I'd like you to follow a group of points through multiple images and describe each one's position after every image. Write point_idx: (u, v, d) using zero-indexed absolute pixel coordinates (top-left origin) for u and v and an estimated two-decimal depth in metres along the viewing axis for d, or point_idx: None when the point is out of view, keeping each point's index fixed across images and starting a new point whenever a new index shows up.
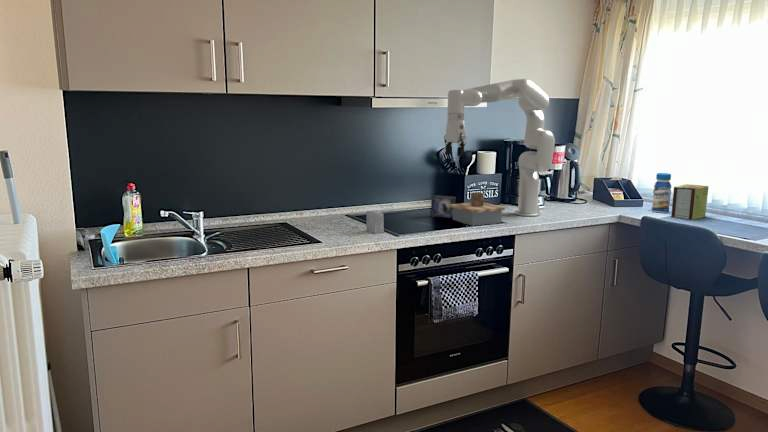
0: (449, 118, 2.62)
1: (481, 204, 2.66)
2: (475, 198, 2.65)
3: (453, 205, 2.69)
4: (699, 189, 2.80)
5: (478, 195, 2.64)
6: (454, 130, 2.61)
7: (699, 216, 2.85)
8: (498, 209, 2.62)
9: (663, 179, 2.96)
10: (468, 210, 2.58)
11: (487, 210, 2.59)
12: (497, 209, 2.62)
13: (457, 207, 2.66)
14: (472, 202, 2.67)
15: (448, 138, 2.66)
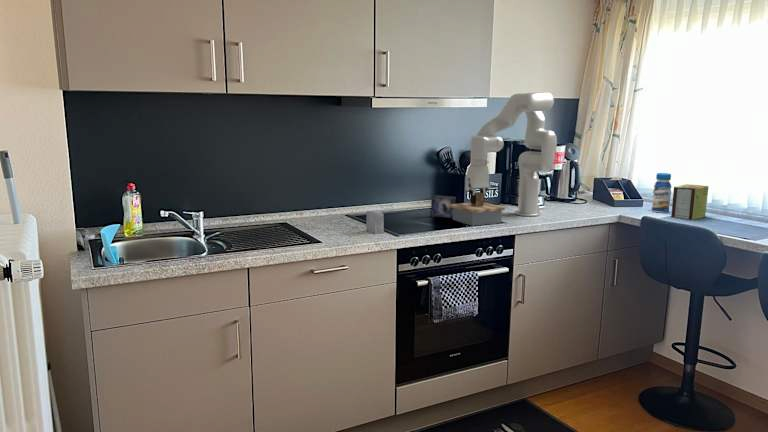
0: (484, 164, 2.61)
1: (481, 204, 2.66)
2: None
3: (453, 205, 2.69)
4: (699, 189, 2.80)
5: (478, 195, 2.64)
6: (486, 176, 2.64)
7: (699, 216, 2.85)
8: (498, 209, 2.62)
9: (663, 179, 2.96)
10: (468, 210, 2.58)
11: (487, 210, 2.59)
12: (497, 209, 2.62)
13: (457, 207, 2.66)
14: None
15: (476, 185, 2.63)
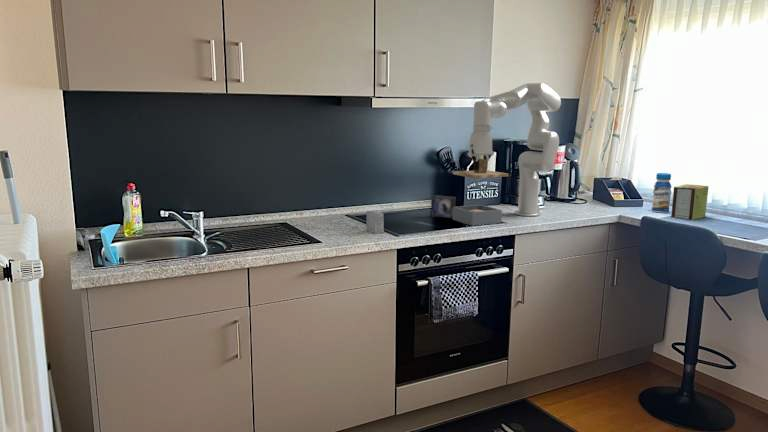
0: (487, 130, 2.58)
1: (484, 171, 2.63)
2: None
3: (456, 172, 2.66)
4: (699, 189, 2.80)
5: (481, 161, 2.61)
6: (489, 142, 2.61)
7: (699, 216, 2.85)
8: (501, 175, 2.59)
9: (663, 179, 2.96)
10: (471, 176, 2.55)
11: (490, 176, 2.56)
12: (500, 175, 2.59)
13: (460, 174, 2.63)
14: None
15: (479, 151, 2.60)
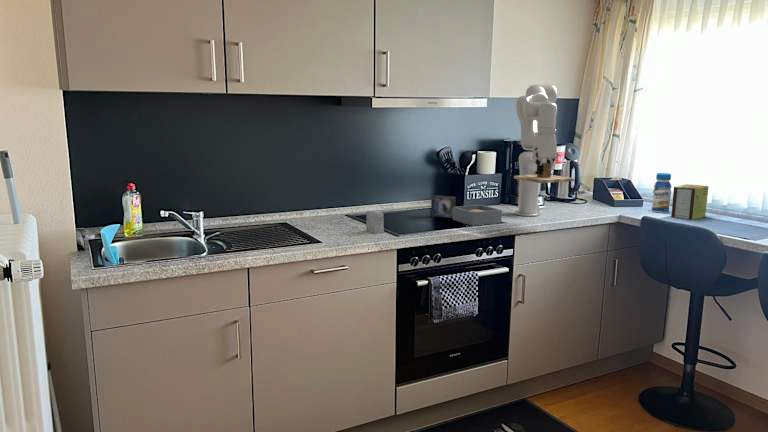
0: (552, 133, 2.47)
1: (548, 175, 2.52)
2: (543, 169, 2.51)
3: (518, 176, 2.55)
4: (699, 189, 2.80)
5: (545, 165, 2.51)
6: (554, 145, 2.50)
7: (699, 216, 2.85)
8: (567, 180, 2.48)
9: (663, 179, 2.96)
10: (537, 180, 2.45)
11: (556, 181, 2.46)
12: (566, 180, 2.48)
13: (523, 178, 2.52)
14: None
15: (544, 154, 2.49)
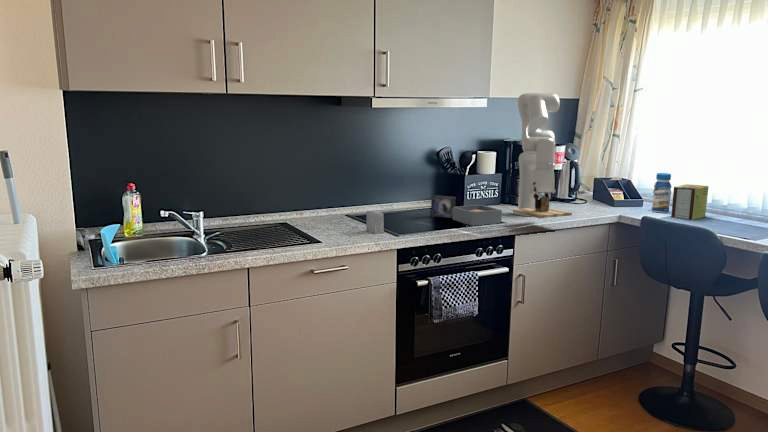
0: (550, 168, 2.50)
1: (546, 209, 2.55)
2: (541, 203, 2.53)
3: (516, 210, 2.58)
4: (699, 189, 2.80)
5: (544, 200, 2.53)
6: (552, 179, 2.53)
7: (699, 216, 2.85)
8: (565, 214, 2.51)
9: (663, 179, 2.96)
10: (535, 215, 2.47)
11: (554, 215, 2.48)
12: (564, 214, 2.51)
13: (521, 212, 2.55)
14: None
15: (542, 189, 2.52)
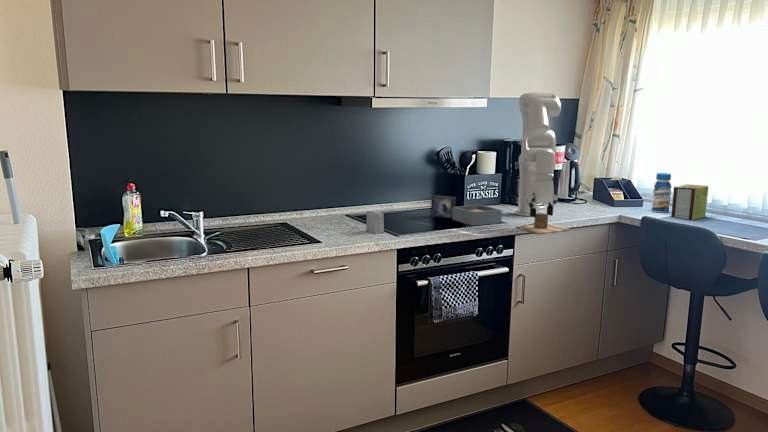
0: (550, 179, 2.51)
1: (545, 226, 2.56)
2: (540, 220, 2.55)
3: None
4: (699, 189, 2.80)
5: (542, 216, 2.55)
6: (551, 190, 2.54)
7: (699, 216, 2.85)
8: None
9: (663, 179, 2.96)
10: (534, 232, 2.49)
11: (553, 232, 2.50)
12: (563, 231, 2.52)
13: None
14: (535, 223, 2.58)
15: (541, 200, 2.53)
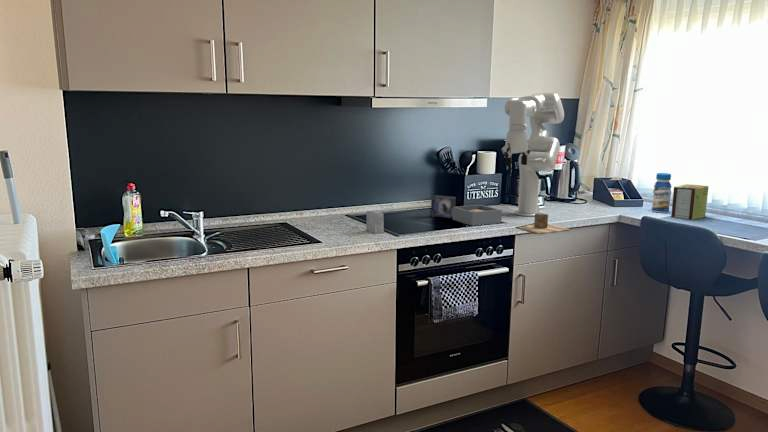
0: (524, 129, 2.61)
1: (545, 226, 2.56)
2: (540, 220, 2.55)
3: None
4: (699, 189, 2.80)
5: (542, 216, 2.55)
6: (525, 140, 2.64)
7: (699, 216, 2.85)
8: None
9: (663, 179, 2.96)
10: (534, 232, 2.49)
11: (553, 232, 2.50)
12: (563, 231, 2.52)
13: None
14: (535, 223, 2.58)
15: (516, 149, 2.63)
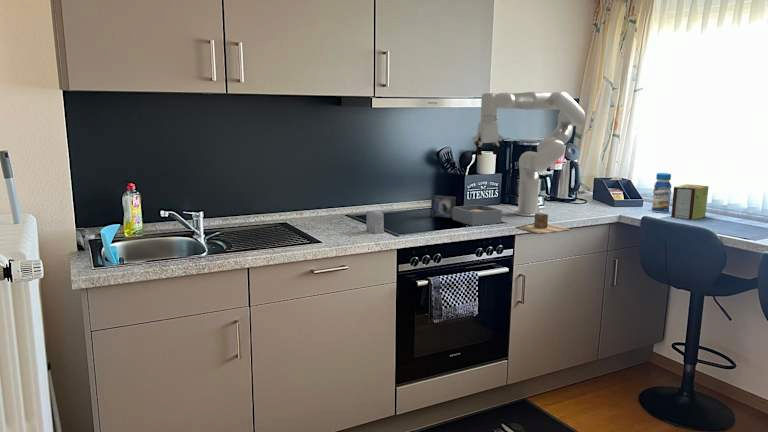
0: (494, 120, 2.76)
1: (545, 226, 2.56)
2: (540, 220, 2.55)
3: None
4: (699, 189, 2.80)
5: (542, 216, 2.55)
6: (495, 131, 2.79)
7: (699, 216, 2.85)
8: None
9: (663, 179, 2.96)
10: (534, 232, 2.49)
11: (553, 232, 2.50)
12: (563, 231, 2.52)
13: None
14: (535, 223, 2.58)
15: (486, 139, 2.78)
